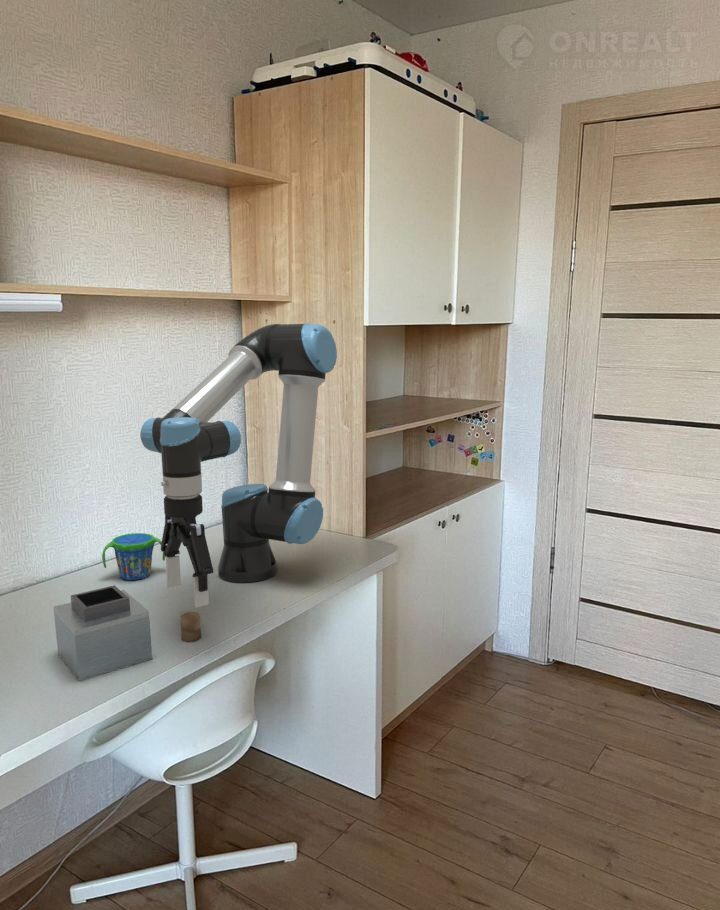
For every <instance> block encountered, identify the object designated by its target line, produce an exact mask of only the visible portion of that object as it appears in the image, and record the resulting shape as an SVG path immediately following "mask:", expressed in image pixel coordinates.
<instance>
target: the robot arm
mask: <svg viewBox="0 0 720 910" xmlns="http://www.w3.org/2000/svg"><path fill="white" fill-rule="evenodd" d="M336 344H337V343H336V342H335V338H334V336H333V334H332V332H331V331H330V330H329V329H328V328H327V327H326V326H325V325H321V324H314V323H294V324H293V323H287V324H281V323H273V324H268V325H265V326H262V327H260V328H257V329H256V330H254V331H252V332H251V333H249V334H247V335H246V336H245V337H243V338H242V339H241V340H240V341H238V342H237V343H236V344H235V345H233V347H231V349H230V350H229V352H228V354H227V355H228V357H227V358H226V359H225V360H224V361H222V362H221V363H220V364H219V365H218V366H217V367H215V369H214V370H213V371H212V372H211V373H209V375H207V376H206V377H205V378H204V379H203V380H202V381H201V382H200V383H199V384H198V385H196V386H195V387H194V388H193V389H192V390H191V391H190V392H189V393H188V394H187V395H185V397H184V398H183V399H182V400H181V401H180V402H178V403H177V404H176V405H175V406H174V407H173V408H172V409H171V410H170V411H168V412H167V413H166V414H165V415H164V416H163V417H155V418H154V417H151V418H149V419H147V420H146V421H144V423H143V424H142V426H141V428H140V436H139V437H140V441H141V444H142V446H143V447H144V448H145V449H146V450H148V451H151V452H154V453H159V454H160V455H161V468H162V481H161V482H160V485H161V486H162V488H163V491H162V492H163V494H164V495H165V496H164V497H163V511H164V512H163V513H164V526H163V531H162V538H161V542H162V543H161V544H160V551H161V552H162V553H163V551H164V555H165V566H166V583H167V584H166V585H167V588H168V589H170V588H174V587H179V586H181V585H182V584H181V583H182V582H181V578H182V577H181V562H180V555H181V552H180V549H181V545H182V546H184V547H185V548H186V549H187V553H188V556H189V559H190V562H191V565H192V569H193V570H194V572H193V574H192V575H191V576H192V581H193V599H194V600H193V601H194V603H193V604H194V608H197V609H198V608H200V607H204V606H208V605H209V604H210V600H209V599H210V598H209V578H208V576H209V575H211V574H213V573H214V567H213V563H212V559H211V556H210V551H209V545H208V542H207V538H206V532H205V530H206V529H205V525H204V524H203V523H201V524H199V523H198V524H197V520H196V518H197V516H199V515H201V514H202V513H203V496H202V495H201V494H202V491H203V483H202V482H203V481H202V480H203V479H202V466H201V465H202V464H201V463H203V462H206V461H210V460H211V461H212V460H214V459H219V458H225V457H227V456H230V455H233V454H234V453H236V452H237V451H238V450H239V449H240V447H241V444H242V436H241V432H240V429H239V428H238V426H237V425H236V424H235V423H234V422H233V421H232V422H231V421H230V420H217V421H214V422H213V421H211V422H209V421H210V420H211V419H212V418H214V417H215V415H216V414H217V413H218V412H220V410H221V409H222V408H224V406H225V405H226V404H227V403H229V401H230V400H231V399H232V398H233V397H234V396H235V395H236V394H237V393H238V392H239V391H240V390H241V389H243V387H244V386H245V385H246V384H247V383H249V381H251V380H256V379H258V378H259V377H261V375H262V374H264V373H267V372H272V371H277V372H278V378H279V379H280V381H281V382H282V384H283V389H282V390H283V392H282V400H281V403H282V404H281V414H280V425H279V437H278V438H279V439H278V447H277V449H278V451H277V459H276V460H277V461H276V472H275V480H274V481H273V482H272V483H271V484H270V485H268V486H267V484H265V483H249V484H242V485H237V486H233V487H231V488H228V489H225V490H224V491H223V493H222V495H221V507H220V508H221V518H222V519H221V520H222V521H221V522H222V531H223V532H222V533H223V547H222V550H221V551H222V552H221V555H220V558H219V563H218V566H217V572H218V577H219V578H220V579H222V580H224V581H227V582H230V583H231V582H232V583H253V582H254V583H255V582H259V581H264V580H267V579H269V578H271V577H273V576H275V575H276V574H277V571H278V567H277V565H278V564H277V561H276V558H275V555H274V552H273V550H272V547H271V545H270V540H271V541H278V542H284V543H287V544H290V545H291V544H296V545H304V544H307V543H310V541H312V540H313V539H314V538H315V537H316V535H317V534H318V533H319V530H320V528H321V525H322V523H323V518H324V507H323V504H322V502H321V500H319V499H318V498H316V489H315V488H314V487H313V485H312V484H311V476H312V475H311V474H312V464H313V453H314V444H315V443H314V440H315V430H316V421H317V420H316V418H317V406H318V394H319V387H320V386H321V385H322V384H323V383H324V382H326V374H328V373H330V372H332V371H333V370H334V368H335V366H336V365H337V364H336V363H337V358H338V357H337V356H338V354H337V353H338V351H337V345H336Z"/></svg>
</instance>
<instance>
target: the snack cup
mask: <svg viewBox="0 0 720 910" xmlns="http://www.w3.org/2000/svg"><path fill="white" fill-rule="evenodd" d="M156 543H159V544H160V545H161V543H162V540H160V539H159V538H157V537H155V536H154V535H152V534H149V533H144V532H143V533H142V532H138V533H137V532H136V533H135V532H133V533H126V534H121V535H118V536H116V537H114V538H112V540H111V542H109V543H107V544H106V545H105V546H104V548H103V550H102V553H101V558H102V565H103V567H104V568H105V569H107V564H106V551H107V550H109V548H113V550H114V555H115V559H116V565H117V569H118V572H119V575H120V578H122V579H123V580H126V581H136V580H140V579H146V578H147V577H149V575H150V574H151V572H152V563H153V561H152V560H153V550H154V547H155V544H156ZM162 561H163V562H164V561H165V562H166V557H165V555H164V551H163V552H162Z"/></svg>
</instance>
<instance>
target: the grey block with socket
mask: <svg viewBox="0 0 720 910" xmlns="http://www.w3.org/2000/svg"><path fill="white" fill-rule="evenodd" d="M53 614H54V615H53V616H54V625H55V634H56V644H57V654H58V656H59V657H60V656H61V657H60V659H62V661H63V660H64V661H63V662H64V664H65V665H66V666H67V668H68V669H69V670H70V671H71V673H72V674H73V675H74V677H75V678H76V679H77V681H79V682H81V681H84V680H88V679H91V678H94V677H98V676H100V675H104V673H105V674H108V673H111V672H113V670H114V671H116V670H117V669H118V670H121V669H124V668H127V667H126V666H128V667H130V666H134V665H137V664H136V663H138V664H141V663H143V661H144V662H147V661H150V659H151V660H153V649H152V637H151V633H152V632H151V622H150V621H151V620H150V611H149V609H147V608H146V607H145V606H144V605H142V604H141V603H140V602H139V601H138V600H137V599H135V598H134V597H133V596H132V595H130V594H129V593H128V592H127V591H126V590H125V589H119V588H118V587H117V586H116V585H114V584H113V585H109V586H106V587H101V588H97V589H93V590H88V591H83V592H80V593H75V594H72V595H70V602H67V603H63V604H59V605H55V606H53ZM140 662H141V663H140ZM129 665H130V666H129ZM123 667H124V668H123ZM120 668H121V669H120Z"/></svg>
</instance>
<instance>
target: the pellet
mask: <svg viewBox="0 0 720 910" xmlns="http://www.w3.org/2000/svg"><path fill="white" fill-rule="evenodd" d="M179 620H180V634H181V635H180V636H181V641H182V642H184V643H196V642H197V641H200V640H201V639H202V629H201V627H202V626H201V614H200V612H197V611H186V612H184V613H182V614H180V616H179Z"/></svg>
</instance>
